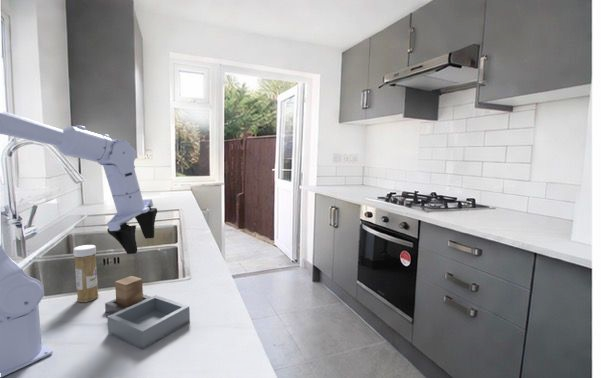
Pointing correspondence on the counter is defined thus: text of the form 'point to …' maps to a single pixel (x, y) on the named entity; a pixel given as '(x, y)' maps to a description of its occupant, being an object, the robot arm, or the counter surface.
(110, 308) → the socket collar
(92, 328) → the counter surface
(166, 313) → the tray
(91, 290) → the sprinkles bottle
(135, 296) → the brown wooden block
